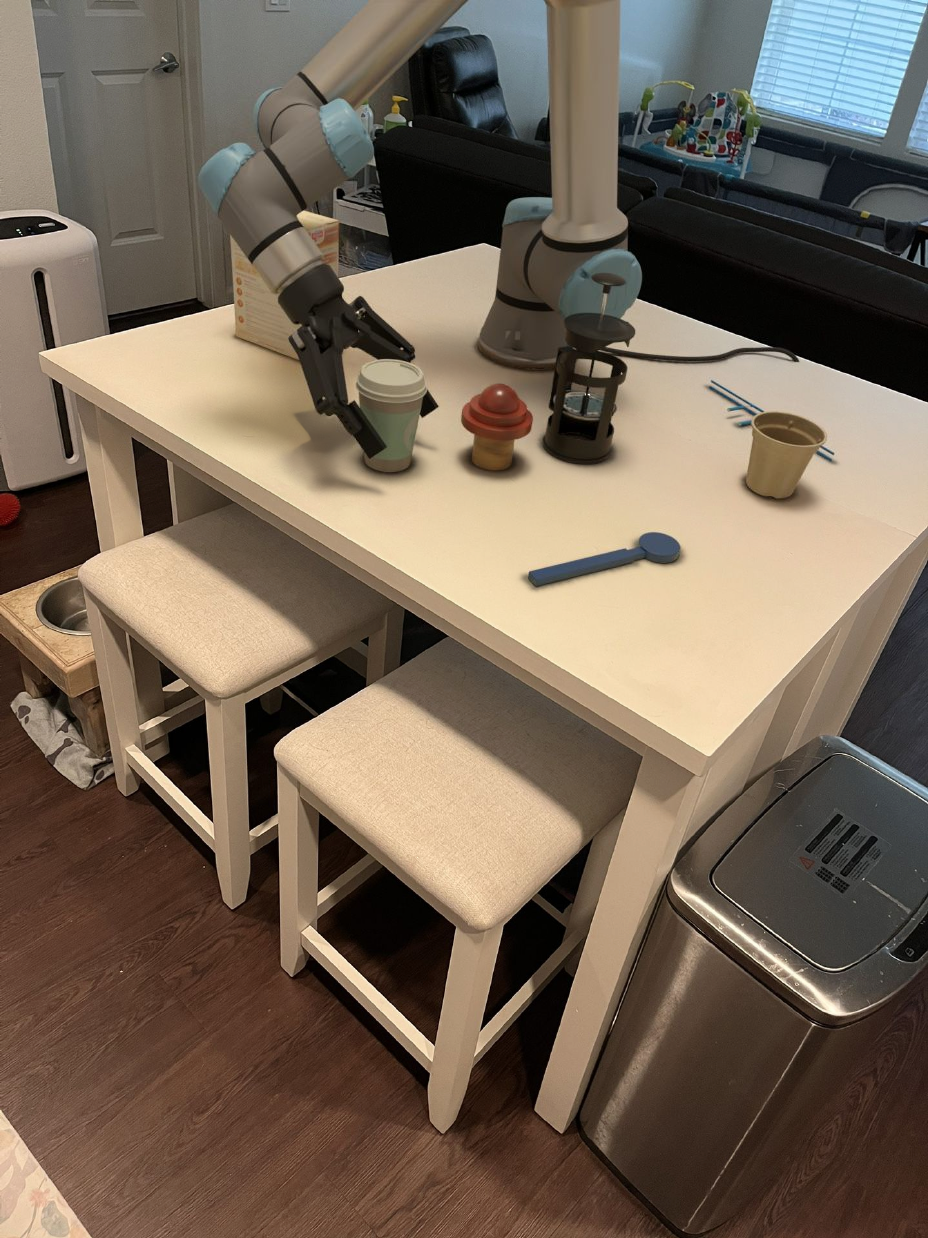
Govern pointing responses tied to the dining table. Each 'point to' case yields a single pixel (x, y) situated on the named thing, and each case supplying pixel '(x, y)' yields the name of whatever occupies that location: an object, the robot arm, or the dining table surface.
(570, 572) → the spoon
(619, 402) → the dining table surface
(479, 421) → the mushroom
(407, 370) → the coffee cup
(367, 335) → the robot arm
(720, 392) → the chopsticks
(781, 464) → the flower pot
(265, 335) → the coffeecake box
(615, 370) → the french press
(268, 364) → the dining table surface
